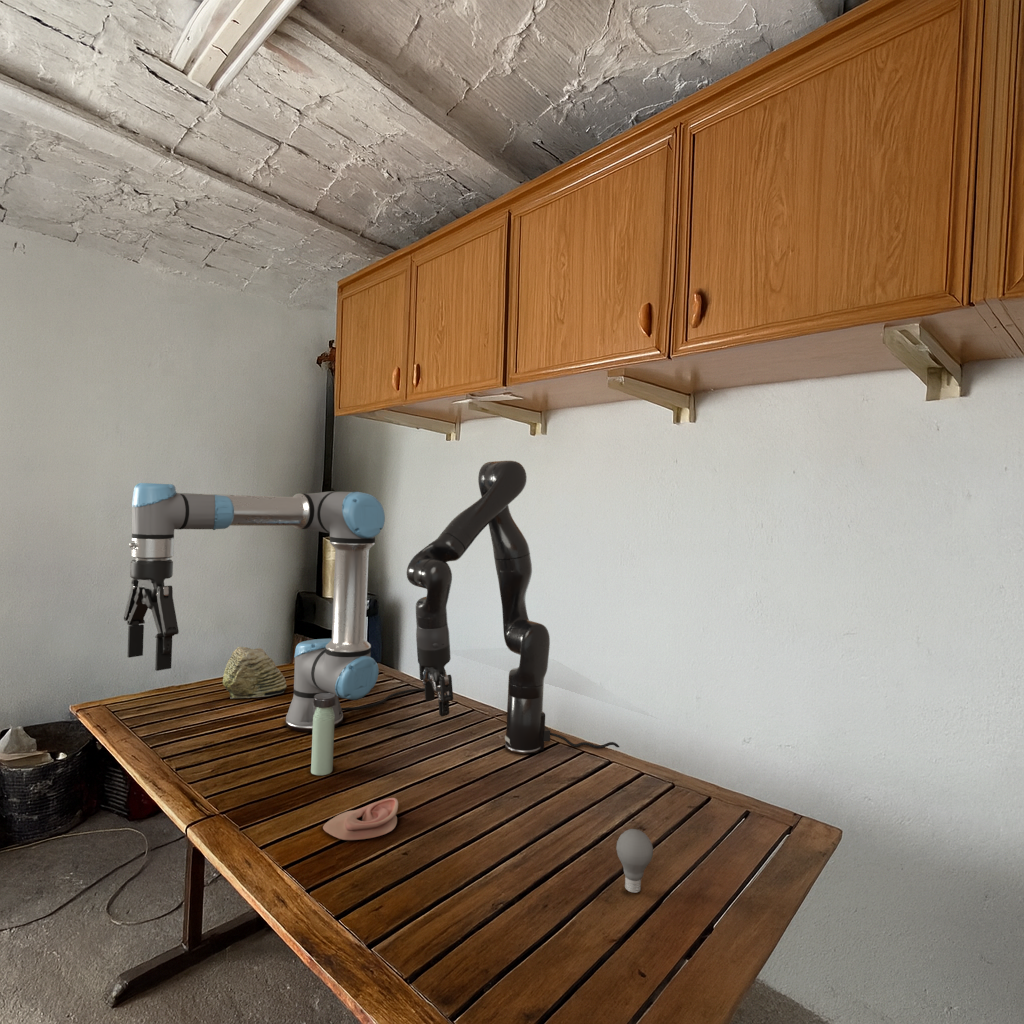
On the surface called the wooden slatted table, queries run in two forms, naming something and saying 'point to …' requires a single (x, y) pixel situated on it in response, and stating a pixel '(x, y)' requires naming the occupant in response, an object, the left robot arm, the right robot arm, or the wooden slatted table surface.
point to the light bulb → (634, 857)
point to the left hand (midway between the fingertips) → (148, 662)
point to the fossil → (252, 674)
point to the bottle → (322, 741)
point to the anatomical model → (364, 821)
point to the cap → (324, 700)
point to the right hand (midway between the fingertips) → (437, 707)
